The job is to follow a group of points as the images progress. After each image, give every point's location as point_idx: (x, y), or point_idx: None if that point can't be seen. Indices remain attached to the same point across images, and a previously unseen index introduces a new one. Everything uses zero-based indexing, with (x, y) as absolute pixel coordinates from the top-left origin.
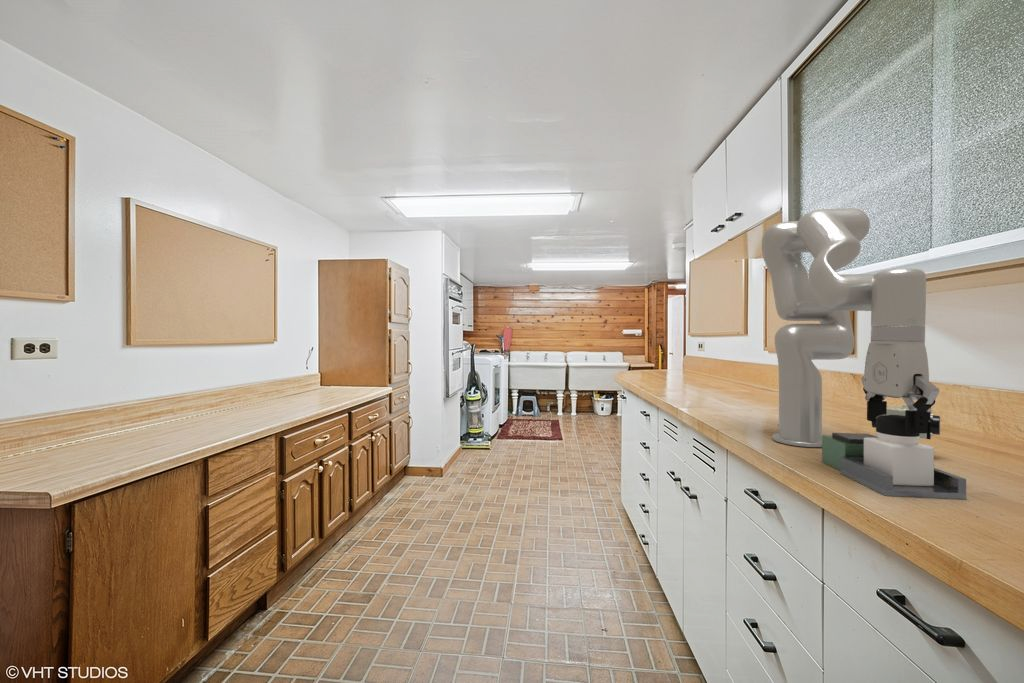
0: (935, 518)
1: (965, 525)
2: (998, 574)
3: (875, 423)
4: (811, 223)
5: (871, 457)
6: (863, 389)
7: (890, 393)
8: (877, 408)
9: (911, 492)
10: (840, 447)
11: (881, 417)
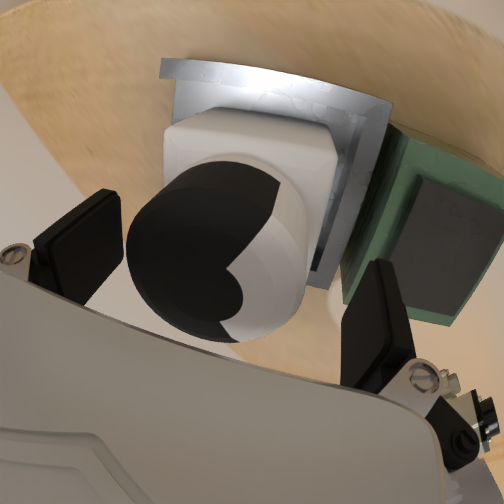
0: (77, 68)
1: (57, 96)
2: None
3: (486, 404)
4: None
5: (288, 127)
6: (473, 435)
7: (10, 296)
8: (362, 341)
9: (174, 118)
10: (429, 142)
11: (214, 207)
